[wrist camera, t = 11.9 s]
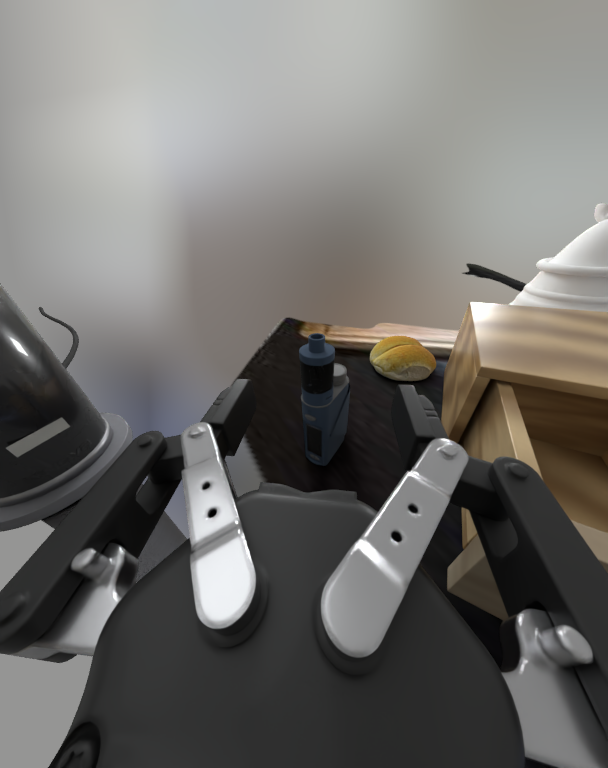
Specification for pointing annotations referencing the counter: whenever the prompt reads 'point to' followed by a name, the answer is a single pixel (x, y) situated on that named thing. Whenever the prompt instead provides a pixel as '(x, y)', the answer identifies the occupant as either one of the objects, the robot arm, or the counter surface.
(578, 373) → the cabinet
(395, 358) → the bread roll
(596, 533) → the drawer
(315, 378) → the vaping device
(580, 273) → the honey pot
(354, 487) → the counter surface
